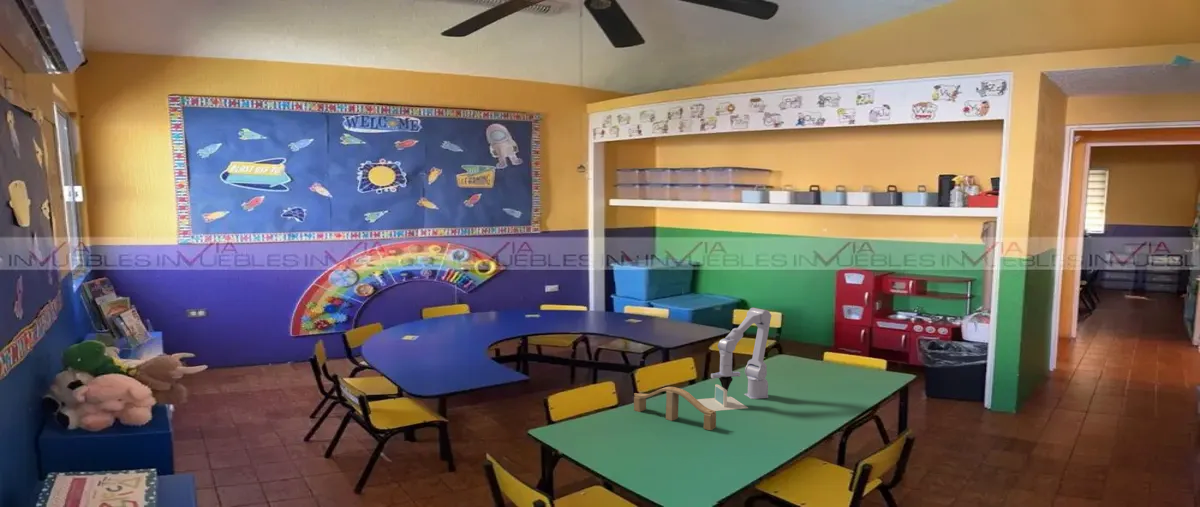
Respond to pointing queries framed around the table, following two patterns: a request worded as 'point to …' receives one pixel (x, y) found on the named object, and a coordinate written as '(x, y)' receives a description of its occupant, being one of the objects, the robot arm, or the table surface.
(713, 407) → the mat
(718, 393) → the tile
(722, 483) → the table surface
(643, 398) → the toy bridge
